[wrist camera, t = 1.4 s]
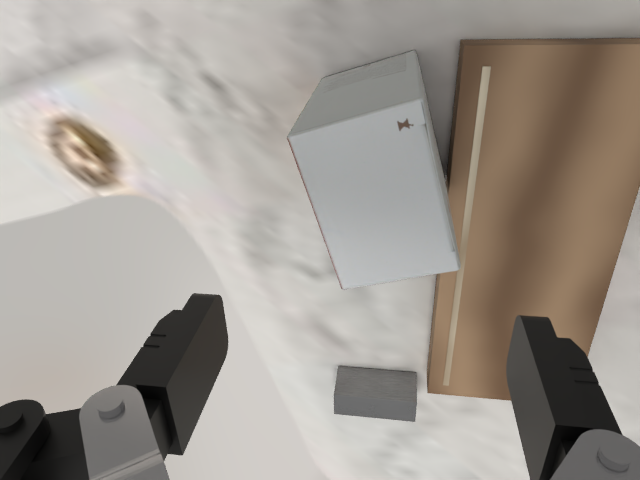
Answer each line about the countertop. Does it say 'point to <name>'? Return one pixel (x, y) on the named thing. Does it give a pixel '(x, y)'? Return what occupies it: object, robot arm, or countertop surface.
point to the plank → (533, 198)
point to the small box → (376, 174)
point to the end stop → (375, 393)
